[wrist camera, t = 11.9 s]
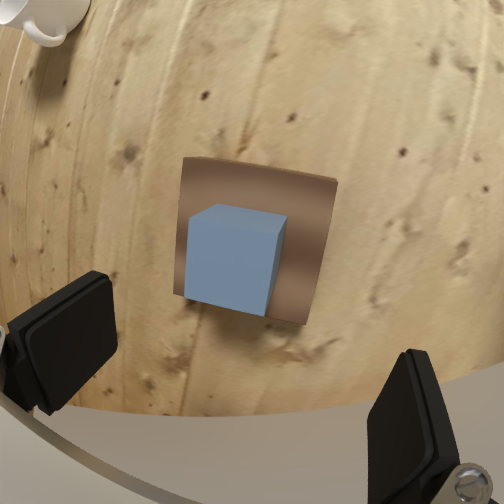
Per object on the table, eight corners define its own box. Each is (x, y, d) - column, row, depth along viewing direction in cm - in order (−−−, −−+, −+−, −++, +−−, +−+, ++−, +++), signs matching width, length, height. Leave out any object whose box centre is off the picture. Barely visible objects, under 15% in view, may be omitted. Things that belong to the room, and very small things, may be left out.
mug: (99, 36, 27) (39, 15, 17) (54, 69, 29) (-5, 61, 20) (90, -23, 24) (42, -47, 14) (49, 9, 26) (-1, -5, 17)
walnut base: (200, 156, 29) (183, 157, 26) (335, 178, 27) (337, 182, 24) (188, 278, 34) (173, 293, 30) (308, 305, 32) (305, 325, 28)
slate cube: (217, 203, 26) (189, 217, 21) (287, 215, 25) (278, 234, 20) (210, 269, 28) (183, 297, 23) (275, 283, 27) (263, 316, 22)
